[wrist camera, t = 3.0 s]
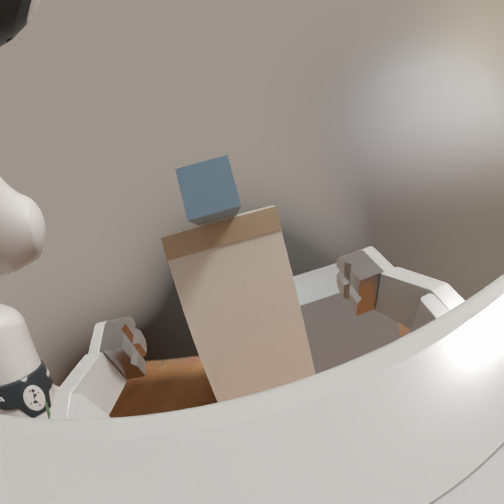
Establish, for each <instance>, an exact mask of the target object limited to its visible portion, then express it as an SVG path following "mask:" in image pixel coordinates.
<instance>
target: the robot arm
mask: <svg viewBox="0 0 504 504" xmlns="http://www.w3.org/2000/svg"><path fill="white" fill-rule="evenodd" d="M39 2H40V0H0V46H2V45H4V44H5V43H7V42H9V41H10V40H11V39H13V38H14V37H15V36H16V35H17V34H18V33H19V32H20V31H21V30H22V29H23V28H24V27H25V26H26V24H27V21H28V19H29V18H30V16H31V15H32V14H33V12H34V11H35V9H36V8H37V6H38V4H39ZM45 238H46V227H45V221H44V217H43V215H42V212H41V210H40V209H39V207H38V206H37V204H36V203H35V202H34V201H33V200H32V199H31V198H29V197H27V196H25V195H22V194H20V193H18V192H16V191H15V190H13V189H12V188H11V187H10V186H9V185H8V184H7V183H6V182H5V181H4V180H3V179H2V178H1V176H0V276H3V275H6V274H10V273H12V272H16V271H18V270H20V269H21V268H23V267H24V266H26V265H28V264H30V263H32V262H33V261H35V260H37V259H38V258H39V257H40V255H41V253H42V251H43V248H44V244H45ZM337 268H338V269H339V272H338V274H337V275H336V276H337V285H338V289H339V291H340V293H341V295H342V296H343V297H344V298H346V299H348V300H349V306H350V308H351V309H352V311H353V312H354V313H355V315H356V316H358V315H361V314H364V313H366V312H369V311H371V310H374V309H375V310H376V311H377V312H379V313H381V314H383V315H385V316H387V317H389V318H391V319H392V320H394V321H396V322H398V323H400V324H402V325H404V326H406V327H407V328H409V329H411V331H410V333H409V334H407V335H405V336H403V337H401V338H399V339H397V340H395V341H393V342H391V343H389V344H387V345H385V346H383V347H380V348H378V349H376V350H374V351H372V352H369V353H367V354H365V355H363V356H360V357H358V358H356V359H353V360H351V361H348V362H346V363H344V364H341V365H339V366H336V367H334V368H331V369H328V370H326V371H323V372H320V373H318V374H315V375H312V376H309V377H306V378H303V379H301V380H298V381H295V382H292V383H288V384H285V385H282V386H279V387H276V388H272V389H269V390H265V391H262V392H258V393H255V394H251V395H247V396H243V397H239V398H235V399H231V400H227V401H222V402H218V403H213V404H208V405H203V406H198V407H193V408H188V409H182V410H176V411H169V412H163V413H155V414H147V415H138V416H128V417H116V418H112V417H110V416H109V415H110V413H111V411H112V409H113V407H114V405H115V403H116V401H117V399H118V397H119V395H120V393H121V392H122V390H123V388H124V386H125V384H126V382H127V379H132V378H137V377H142V376H146V361H145V360H144V359H143V357H144V356H145V354H146V351H147V347H146V342H145V338H144V336H143V334H142V333H141V331H140V330H138V329H136V328H135V322H134V321H133V319H132V318H131V317H123V318H118V319H114V320H109V321H105V322H100V323H97V324H96V325H95V328H94V332H93V336H92V340H91V344H90V348H89V353H88V354H87V355H85V356H84V357H83V358H82V360H81V361H80V362H79V363H78V364H77V366H76V367H75V368H74V369H73V371H72V372H71V373H70V375H69V376H68V377H67V378H66V380H65V381H64V382H63V384H62V385H61V386H60V387H59V386H56V385H54V384H53V380H52V379H51V376H50V375H49V374H50V373H49V371H48V369H47V368H46V366H45V364H44V362H43V361H41V360H40V358H39V356H38V354H37V351H36V349H35V347H34V344H33V341H32V339H31V336H30V334H29V331H28V328H27V325H26V322H25V320H24V318H23V317H22V315H21V314H20V313H19V312H18V311H17V310H15V309H14V308H12V307H10V306H7V305H4V304H0V504H504V274H503V275H502V276H500V277H499V278H498V279H496V280H495V281H493V282H492V283H491V284H489V285H488V286H487V287H485V288H484V289H482V290H481V291H479V292H478V293H476V294H475V295H473V296H472V297H470V298H469V299H467V300H466V301H465V300H464V299H463V298H462V297H461V296H460V295H459V294H458V293H457V292H456V291H455V290H454V289H453V288H452V287H451V286H450V285H449V284H447V283H446V282H442V281H439V280H437V279H434V278H430V277H427V276H425V275H421V274H418V273H415V272H412V271H409V270H406V269H403V268H400V267H396V268H394V267H393V266H392V265H391V264H390V263H389V262H388V261H387V260H386V259H385V258H384V257H383V256H382V255H381V254H380V253H379V252H378V251H377V250H376V249H375V248H374V247H371V246H370V247H367V248H364V249H361V250H360V251H356V252H353V253H350V254H348V255H344V256H341V257H338V258H337ZM45 401H46V402H47V404H48V407H49V410H50V414H51V415H50V419H48V415H47V411H46V407H45Z"/></svg>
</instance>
